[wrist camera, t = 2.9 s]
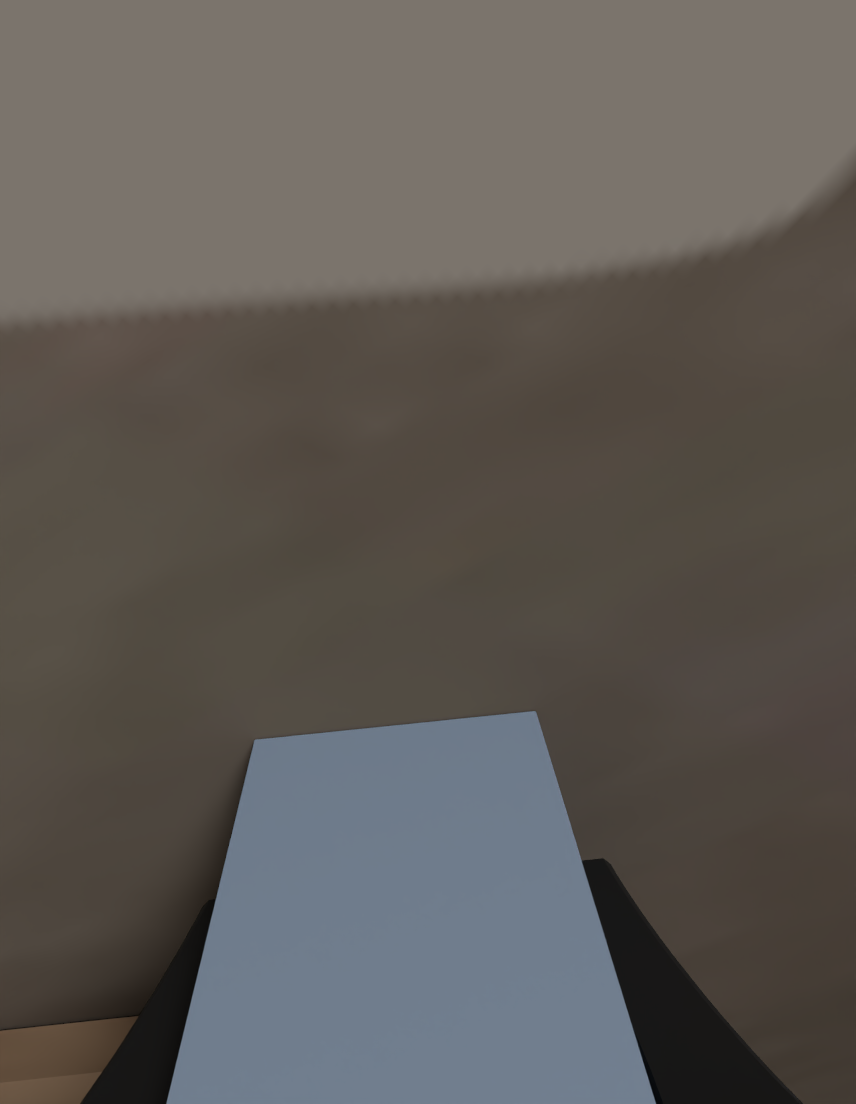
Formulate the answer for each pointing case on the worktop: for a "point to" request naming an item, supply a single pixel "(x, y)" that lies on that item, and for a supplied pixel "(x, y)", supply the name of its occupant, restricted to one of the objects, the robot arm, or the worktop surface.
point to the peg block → (406, 931)
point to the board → (57, 1060)
